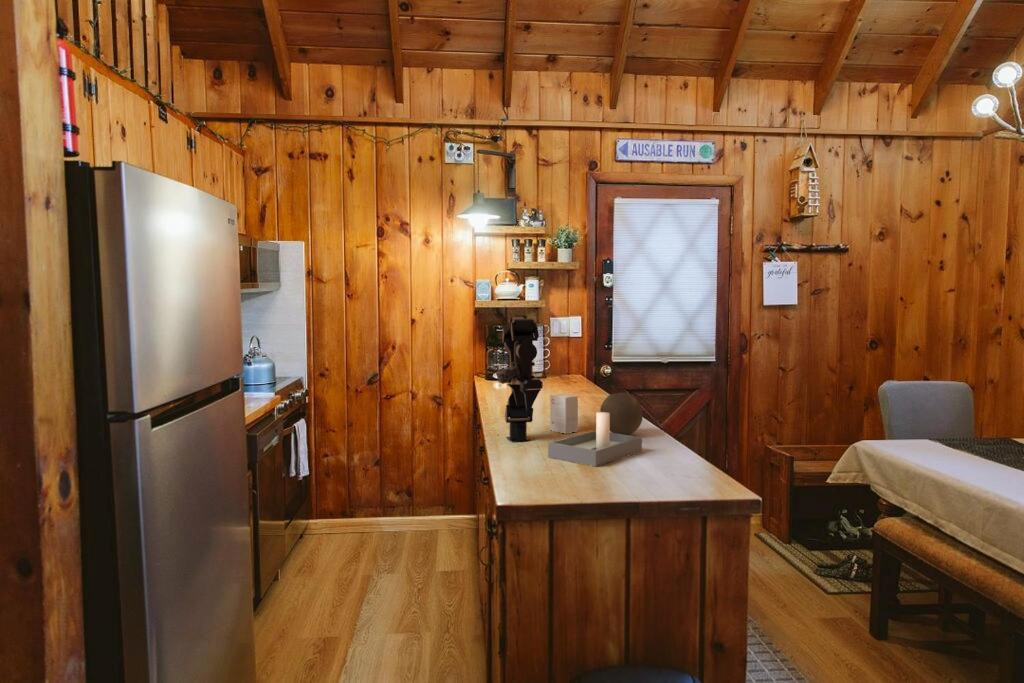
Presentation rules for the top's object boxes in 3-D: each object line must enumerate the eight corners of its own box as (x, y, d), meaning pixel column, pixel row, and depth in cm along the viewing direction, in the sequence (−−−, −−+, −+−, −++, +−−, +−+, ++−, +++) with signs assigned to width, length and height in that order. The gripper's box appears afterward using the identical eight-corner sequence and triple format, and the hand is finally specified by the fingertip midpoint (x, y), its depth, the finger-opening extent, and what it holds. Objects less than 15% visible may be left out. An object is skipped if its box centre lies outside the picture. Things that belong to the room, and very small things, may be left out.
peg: (594, 456, 197) (594, 413, 196) (598, 453, 200) (599, 411, 199) (606, 457, 195) (607, 414, 194) (611, 455, 198) (611, 412, 197)
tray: (548, 457, 195) (548, 442, 195) (596, 443, 214) (596, 430, 214) (595, 466, 184) (595, 451, 184) (641, 451, 203) (641, 437, 202)
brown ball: (609, 430, 236) (610, 389, 235) (647, 434, 229) (648, 391, 228) (594, 437, 224) (594, 393, 223) (633, 441, 217) (633, 397, 216)
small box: (578, 432, 233) (578, 395, 232) (565, 434, 229) (565, 397, 228) (562, 428, 239) (562, 393, 238) (549, 431, 235) (549, 395, 234)
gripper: (490, 357, 210) (490, 405, 211) (508, 362, 193) (508, 414, 194) (522, 356, 214) (522, 403, 215) (543, 361, 196) (543, 412, 197)
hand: (523, 408), depth 205 cm, fingers open, 9 cm apart
